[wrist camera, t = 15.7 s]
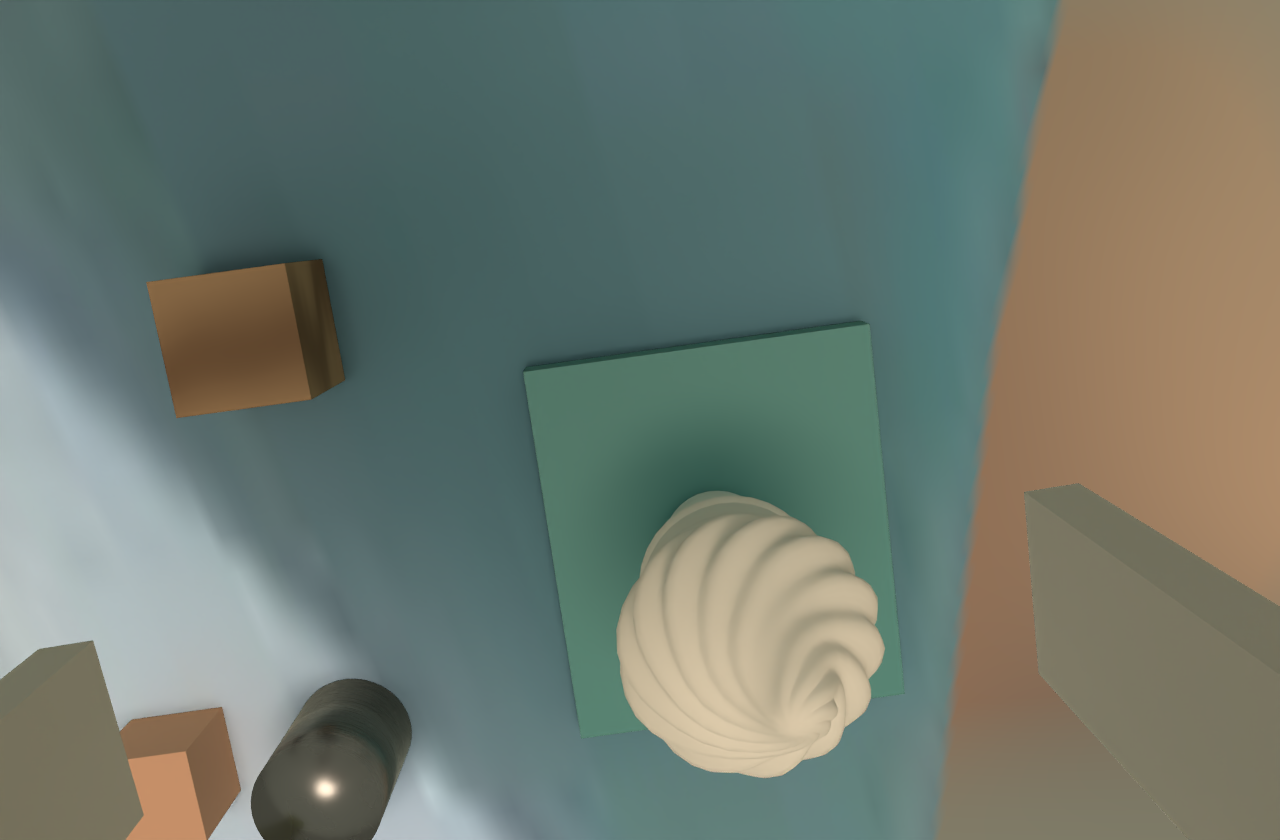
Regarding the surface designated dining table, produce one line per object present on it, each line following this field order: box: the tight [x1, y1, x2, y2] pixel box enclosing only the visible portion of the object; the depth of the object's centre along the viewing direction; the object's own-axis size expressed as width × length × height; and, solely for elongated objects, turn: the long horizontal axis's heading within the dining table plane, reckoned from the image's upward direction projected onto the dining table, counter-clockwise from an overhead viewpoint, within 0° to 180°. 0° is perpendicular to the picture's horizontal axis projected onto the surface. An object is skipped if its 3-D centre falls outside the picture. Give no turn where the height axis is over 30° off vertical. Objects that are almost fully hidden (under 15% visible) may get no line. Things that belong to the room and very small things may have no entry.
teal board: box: [523, 321, 905, 739], centre depth 44 cm, size 16×14×2 cm
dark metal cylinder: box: [251, 679, 412, 840], centre depth 43 cm, size 5×5×6 cm
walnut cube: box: [146, 259, 345, 418], centre depth 40 cm, size 5×5×5 cm
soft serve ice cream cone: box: [616, 491, 885, 778], centre depth 35 cm, size 8×8×16 cm
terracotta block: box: [120, 707, 241, 840], centre depth 44 cm, size 4×4×4 cm
